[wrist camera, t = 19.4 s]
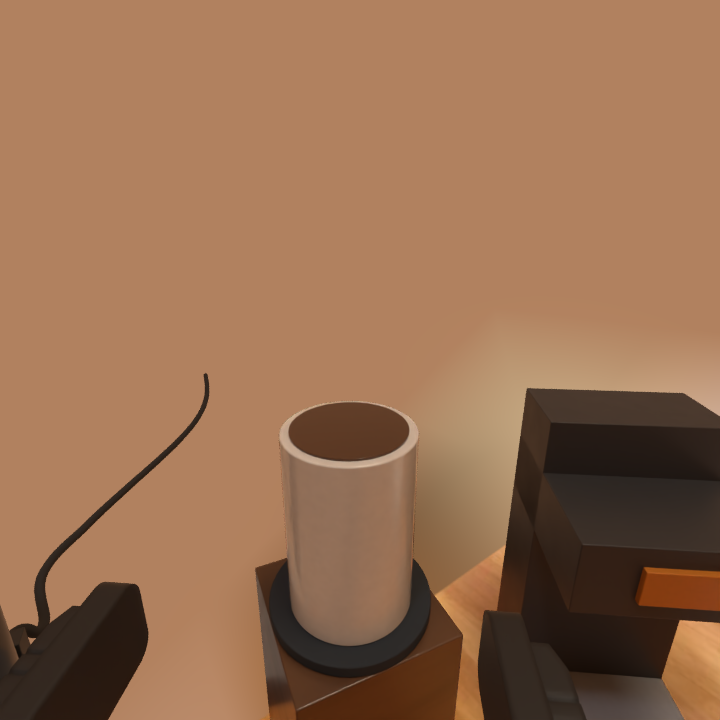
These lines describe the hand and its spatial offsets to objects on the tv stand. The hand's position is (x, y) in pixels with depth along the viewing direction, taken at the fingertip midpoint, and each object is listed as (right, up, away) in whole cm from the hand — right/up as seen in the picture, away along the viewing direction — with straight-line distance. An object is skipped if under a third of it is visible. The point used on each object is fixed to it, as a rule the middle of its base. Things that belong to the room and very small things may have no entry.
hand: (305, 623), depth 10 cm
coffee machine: (+20, -22, +25) cm, 39 cm away
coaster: (+1, -6, +12) cm, 13 cm away
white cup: (+1, -5, +12) cm, 13 cm away
